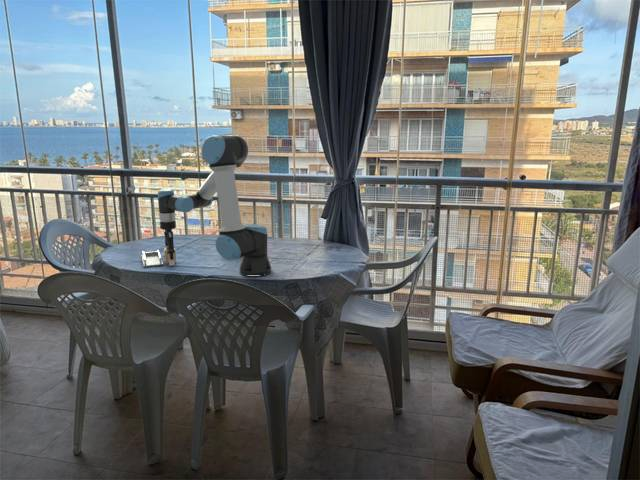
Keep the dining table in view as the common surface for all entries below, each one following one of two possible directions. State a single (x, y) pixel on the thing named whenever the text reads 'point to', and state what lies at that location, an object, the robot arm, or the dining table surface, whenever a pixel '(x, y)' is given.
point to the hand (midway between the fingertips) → (170, 261)
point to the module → (167, 255)
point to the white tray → (152, 259)
